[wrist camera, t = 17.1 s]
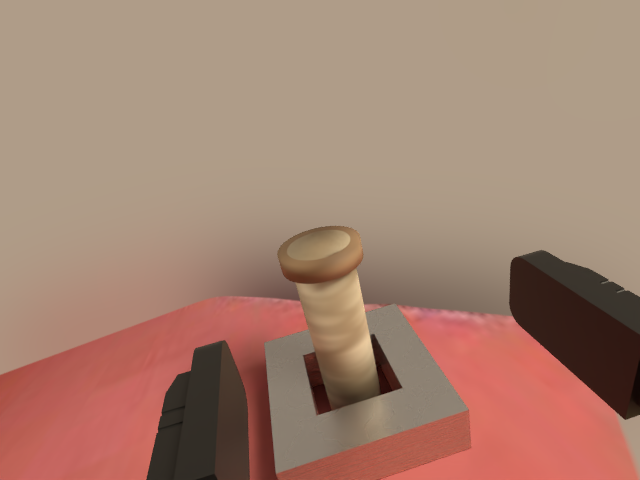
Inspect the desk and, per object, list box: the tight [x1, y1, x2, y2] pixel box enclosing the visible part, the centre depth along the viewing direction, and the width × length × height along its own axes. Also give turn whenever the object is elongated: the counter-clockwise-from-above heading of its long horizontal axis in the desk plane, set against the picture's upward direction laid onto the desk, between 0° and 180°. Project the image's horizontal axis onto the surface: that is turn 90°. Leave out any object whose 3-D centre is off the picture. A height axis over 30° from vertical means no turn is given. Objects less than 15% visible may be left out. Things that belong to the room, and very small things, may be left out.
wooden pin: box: [277, 226, 382, 411], centre depth 26 cm, size 5×5×14 cm
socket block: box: [264, 304, 471, 480], centre depth 28 cm, size 12×12×4 cm
